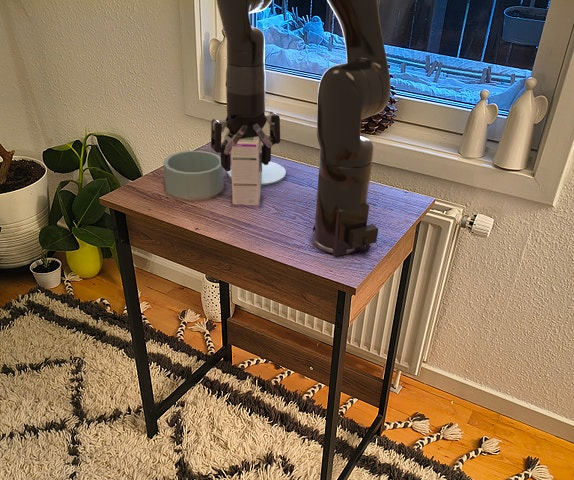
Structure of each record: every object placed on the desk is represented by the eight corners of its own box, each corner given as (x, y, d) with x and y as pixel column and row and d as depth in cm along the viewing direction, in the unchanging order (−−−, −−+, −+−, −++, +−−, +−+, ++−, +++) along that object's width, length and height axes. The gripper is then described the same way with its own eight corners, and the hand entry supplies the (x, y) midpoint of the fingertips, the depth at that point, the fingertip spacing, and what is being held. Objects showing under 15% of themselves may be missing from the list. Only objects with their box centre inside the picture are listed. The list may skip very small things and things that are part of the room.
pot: (232, 195, 126) (231, 168, 123) (176, 205, 122) (174, 177, 118) (211, 173, 136) (210, 147, 132) (158, 181, 131) (156, 155, 127)
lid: (296, 182, 133) (297, 158, 130) (241, 192, 128) (241, 167, 124) (270, 160, 143) (270, 137, 139) (218, 169, 138) (217, 145, 134)
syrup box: (259, 207, 122) (260, 141, 114) (231, 206, 122) (230, 139, 114) (260, 195, 127) (261, 131, 119) (234, 194, 127) (233, 129, 118)
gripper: (218, 96, 105) (220, 179, 114) (287, 88, 111) (285, 168, 120) (203, 85, 111) (207, 165, 120) (270, 78, 116) (269, 155, 125)
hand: (246, 166), depth 120 cm, fingers open, 8 cm apart
